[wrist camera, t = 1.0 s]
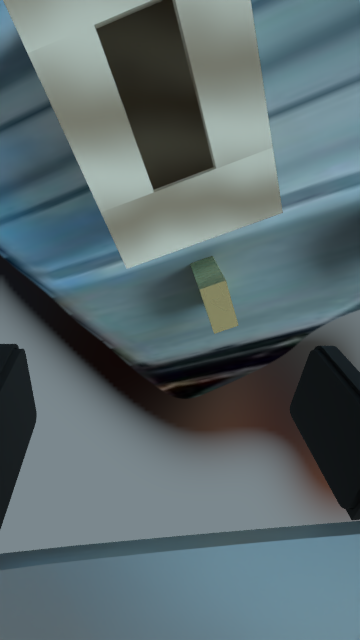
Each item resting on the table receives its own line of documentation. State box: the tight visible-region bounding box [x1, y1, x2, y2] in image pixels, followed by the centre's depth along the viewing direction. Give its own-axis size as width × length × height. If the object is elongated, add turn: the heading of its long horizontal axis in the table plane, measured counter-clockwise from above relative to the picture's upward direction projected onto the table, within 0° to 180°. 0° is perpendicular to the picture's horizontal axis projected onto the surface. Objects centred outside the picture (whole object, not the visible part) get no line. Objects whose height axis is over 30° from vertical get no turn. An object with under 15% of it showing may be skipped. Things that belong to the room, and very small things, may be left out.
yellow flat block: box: [190, 256, 238, 334], centre depth 32 cm, size 5×2×6 cm, turn 19°
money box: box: [3, 0, 283, 269], centre depth 22 cm, size 16×11×10 cm
